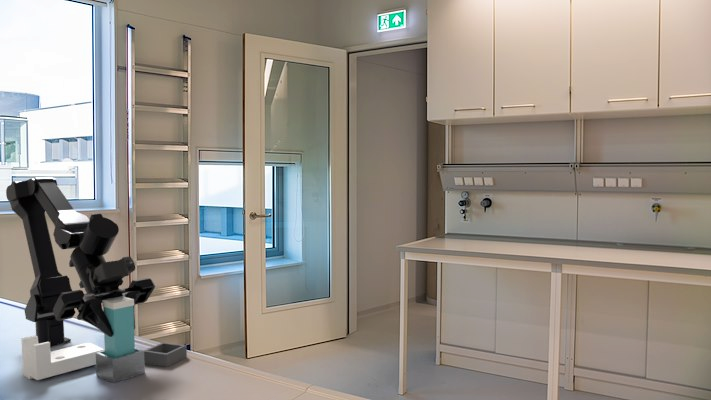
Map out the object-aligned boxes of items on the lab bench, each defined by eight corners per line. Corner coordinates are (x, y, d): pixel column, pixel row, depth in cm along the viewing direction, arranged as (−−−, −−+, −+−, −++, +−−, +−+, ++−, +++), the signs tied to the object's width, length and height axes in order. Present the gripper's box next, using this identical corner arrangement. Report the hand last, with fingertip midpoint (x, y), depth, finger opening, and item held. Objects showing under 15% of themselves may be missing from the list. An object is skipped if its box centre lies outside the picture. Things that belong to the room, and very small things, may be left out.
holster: (143, 362, 118) (142, 351, 117) (163, 353, 123) (163, 342, 123) (167, 366, 115) (166, 354, 115) (186, 356, 121) (186, 345, 121)
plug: (104, 365, 111) (102, 300, 110) (124, 359, 114) (122, 296, 113) (115, 370, 108) (113, 303, 107) (136, 364, 112) (133, 299, 111)
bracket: (37, 385, 107) (35, 345, 106) (23, 376, 112) (21, 338, 111) (105, 366, 117) (103, 330, 116) (89, 358, 121) (88, 323, 121)
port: (96, 375, 111) (95, 352, 111) (127, 365, 116) (126, 344, 116) (113, 383, 107) (112, 359, 106) (144, 373, 112) (144, 350, 111)
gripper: (57, 250, 105) (88, 319, 99) (149, 239, 119) (180, 299, 113) (40, 287, 110) (69, 354, 104) (130, 272, 125) (160, 330, 119)
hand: (122, 332), depth 110 cm, fingers open, 4 cm apart
